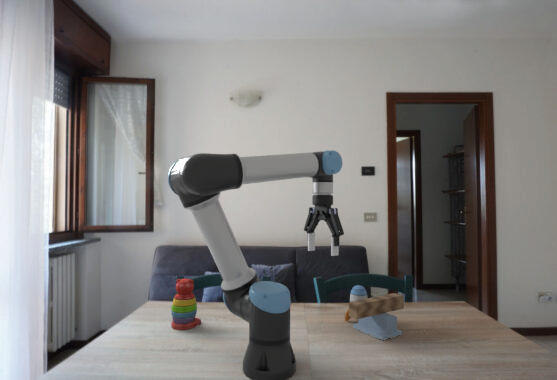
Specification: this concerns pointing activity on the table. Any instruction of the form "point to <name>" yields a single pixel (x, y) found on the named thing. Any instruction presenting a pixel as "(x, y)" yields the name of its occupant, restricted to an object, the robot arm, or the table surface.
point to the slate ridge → (379, 326)
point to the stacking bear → (184, 306)
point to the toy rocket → (356, 297)
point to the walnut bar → (376, 305)
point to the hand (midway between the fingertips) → (322, 253)
